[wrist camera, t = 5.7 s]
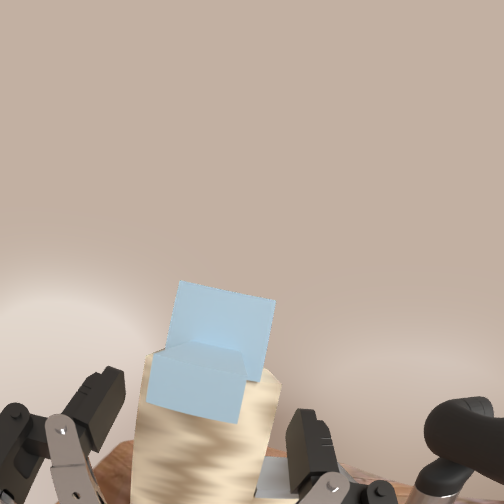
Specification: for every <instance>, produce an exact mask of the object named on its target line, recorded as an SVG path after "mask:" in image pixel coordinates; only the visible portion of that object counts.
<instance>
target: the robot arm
mask: <svg viewBox="0 0 504 504" xmlns="http://www.w3.org/2000/svg"><path fill="white" fill-rule="evenodd" d="M125 395H126V391H125V380H124V372H123V371H122V370H119V369H116V368H113V367H110V366H107V367H106V369H105V370H104V371H103V373H102V374H99V373H97V372H95V373H94V374H92V375H90V376H89V377H87V378H86V380H85V381H84V383H83V384H82V386H81V387H80V388H79V389H78V392H76V394H75V395H74V396H73V398H72V399H71V400H70V402H69V403H68V405H67V406H66V408H65V409H64V411H63V412H62V413H61V414H54V415H52V416H50V417H49V418H46V417H41V416H37V415H33V414H30V413H29V411H28V409H27V408H26V407H25V406H24V405H23V404H20V403H10V404H8V405H7V406H6V407H5V408H4V409H3V411H2V412H1V414H0V504H24V502H25V499H26V497H27V495H28V493H29V490H30V488H31V486H32V483H33V482H34V479H35V477H36V475H37V473H38V471H39V469H40V467H41V465H42V463H43V461H44V459H45V458H47V459H51V461H52V467H51V468H50V470H51V475H52V479H53V483H54V486H55V490H56V493H57V496H58V500H59V503H60V504H107V503H106V501H105V498H104V496H103V494H102V492H101V490H100V488H99V485H98V483H97V480H96V478H95V475H94V472H93V469H92V467H91V464H90V461H89V458H88V455H89V453H90V451H91V450H92V451H95V452H97V453H99V451H100V449H101V447H102V445H103V443H104V441H105V439H106V437H107V435H108V433H109V431H110V429H111V427H112V425H113V423H114V421H115V419H116V417H117V415H118V413H119V411H120V409H121V407H122V405H123V403H124V400H125ZM424 438H425V441H426V444H427V446H428V448H429V449H430V450H431V451H432V452H433V453H434V454H435V455H438V456H439V457H440V458H438V459H437V460H435V461H434V462H432V463H430V464H428V465H427V466H425V467H424V468H423V469H422V470H421V471H420V473H419V475H418V477H417V479H416V482H415V484H414V486H413V488H412V490H411V493H410V495H409V497H408V499H407V501H406V503H405V504H454V502H455V500H456V499H457V497H458V495H459V493H460V491H461V489H462V487H463V485H464V483H465V482H466V481H467V479H468V478H469V477H470V476H471V475H472V473H473V472H474V470H475V471H477V472H478V473H480V474H482V475H484V476H486V477H488V478H490V479H492V480H494V481H496V482H498V483H500V484H502V485H504V418H494V412H493V407H492V404H491V402H490V401H489V400H488V399H487V398H485V397H480V396H479V397H469V398H461V399H452V400H448V401H446V402H443V403H441V404H439V405H438V406H437V407H435V408H434V409H433V410H432V411H431V413H430V414H429V416H428V417H427V419H426V422H425V425H424ZM286 448H287V459H288V470H289V482H290V494H298V495H299V500H298V501H297V502H296V503H295V504H398V501H397V498H396V494H395V490H394V488H393V486H392V485H391V484H390V483H389V482H387V481H384V480H377V481H374V482H372V483H371V484H370V485H364V484H358V483H353V482H350V481H349V480H348V479H347V478H346V477H345V476H344V475H343V474H341V473H340V471H339V468H338V463H337V459H336V455H335V451H334V447H333V443H332V439H331V435H330V431H329V428H328V427H327V425H326V424H325V423H324V421H322V420H321V421H320V420H317V418H316V414H315V411H314V410H311V409H297V410H296V412H295V414H294V416H293V418H292V420H291V422H290V424H289V426H288V428H287V431H286Z"/></svg>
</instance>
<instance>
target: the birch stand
mask: <svg viewBox="0 0 504 504" xmlns="http://www.w3.org/2000/svg"><path fill="white" fill-rule="evenodd" d="M163 350H165V348H164V349H162V350H159V351H157V352H160V351H163ZM157 352H154V353H157ZM154 353H152V354H149V355H147V356H146V359H145V365H144V371H143V377H142V383H141V390H140V396H139V404H138V411H137V419H136V428H135V437H134V447H133V459H132V474H131V496H130V504H295V503H296V502H297V501H298V500H299V495H298V494H290V482H289V470H288V459H287V458H284V457H269V456H265V453H266V449H267V445H268V441H269V437H270V434H271V430H272V425H273V421H274V417H275V413H276V409H277V404H278V400H279V395H280V391H281V386H282V384H281V383H280V382H279V381H278V380H277V379H276V378H275V377H274V376H273V375H272V374H271V373H270V372H269V371H268V369H266V368H263V370H262V375H261V380H260V382H255V381H249V380H247V381H246V385H245V390H244V395H243V400H242V404H241V409H240V414H239V418H238V423H237V424H233V423H227V422H222V421H217V420H212V419H207V418H203V417H198V416H194V415H190V414H186V413H182V412H178V411H174V410H171V409H167V408H164V407H160V406H157V405H154V404H150V403H147V402H146V397H147V390H148V384H149V377H150V372H151V366H152V360H153V355H154ZM337 463H338V462H337ZM338 468H339V471H340V473H341V474H343V475H344V476H345V477H346V478H347V479H348V480H349V481H350V482H353V483H357V482H356V481H355V480H354V479H353V478H352V477H351V476H350V475H349V474H348V472H347V471H346V470H345V469H344V468H343V467H342V466H341V465H340V464H339V463H338Z"/></svg>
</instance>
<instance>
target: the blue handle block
mask: <svg viewBox="0 0 504 504" xmlns="http://www.w3.org/2000/svg"><path fill="white" fill-rule="evenodd" d="M275 304H276V301H275V300H270V299H265V298H260V297H255V296H249V295H245V294H240V293H235V292H230V291H226V290H221V289H216V288H212V287H207V286H203V285H198V284H194V283H189V282H185V281H181V280H180V282H179V287H178V291H177V295H176V299H175V304H174V308H173V314H172V318H171V322H170V327H169V332H168V337H167V342H166V347H165V350H163V351H160V352H157V353H154V355H153V360H152V366H151V372H150V377H149V384H148V390H147V397H146V402H147V403H150V404H154V405H157V406H160V407H164V408H167V409H171V410H174V411H178V412H182V413H186V414H190V415H194V416H198V417H203V418H207V419H212V420H217V421H222V422H227V423H233V424H237V423H238V418H239V414H240V409H241V404H242V400H243V395H244V390H245V385H246V381H247V380H249V381H255V382H260V380H261V375H262V370H263V365H264V360H265V355H266V350H267V345H268V340H269V335H270V330H271V325H272V320H273V314H274V309H275Z"/></svg>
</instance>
